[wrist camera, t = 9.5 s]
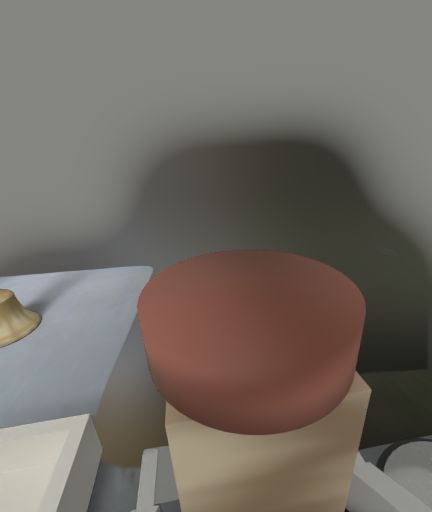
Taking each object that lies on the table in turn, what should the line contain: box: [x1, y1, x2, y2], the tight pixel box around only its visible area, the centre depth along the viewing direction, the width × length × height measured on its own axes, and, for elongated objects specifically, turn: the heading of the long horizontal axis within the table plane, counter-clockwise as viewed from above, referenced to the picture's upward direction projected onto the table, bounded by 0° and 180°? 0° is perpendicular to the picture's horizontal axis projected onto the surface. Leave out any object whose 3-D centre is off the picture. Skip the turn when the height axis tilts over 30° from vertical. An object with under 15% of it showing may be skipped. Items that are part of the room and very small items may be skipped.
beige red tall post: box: [137, 250, 371, 512], centre depth 9 cm, size 6×6×16 cm
